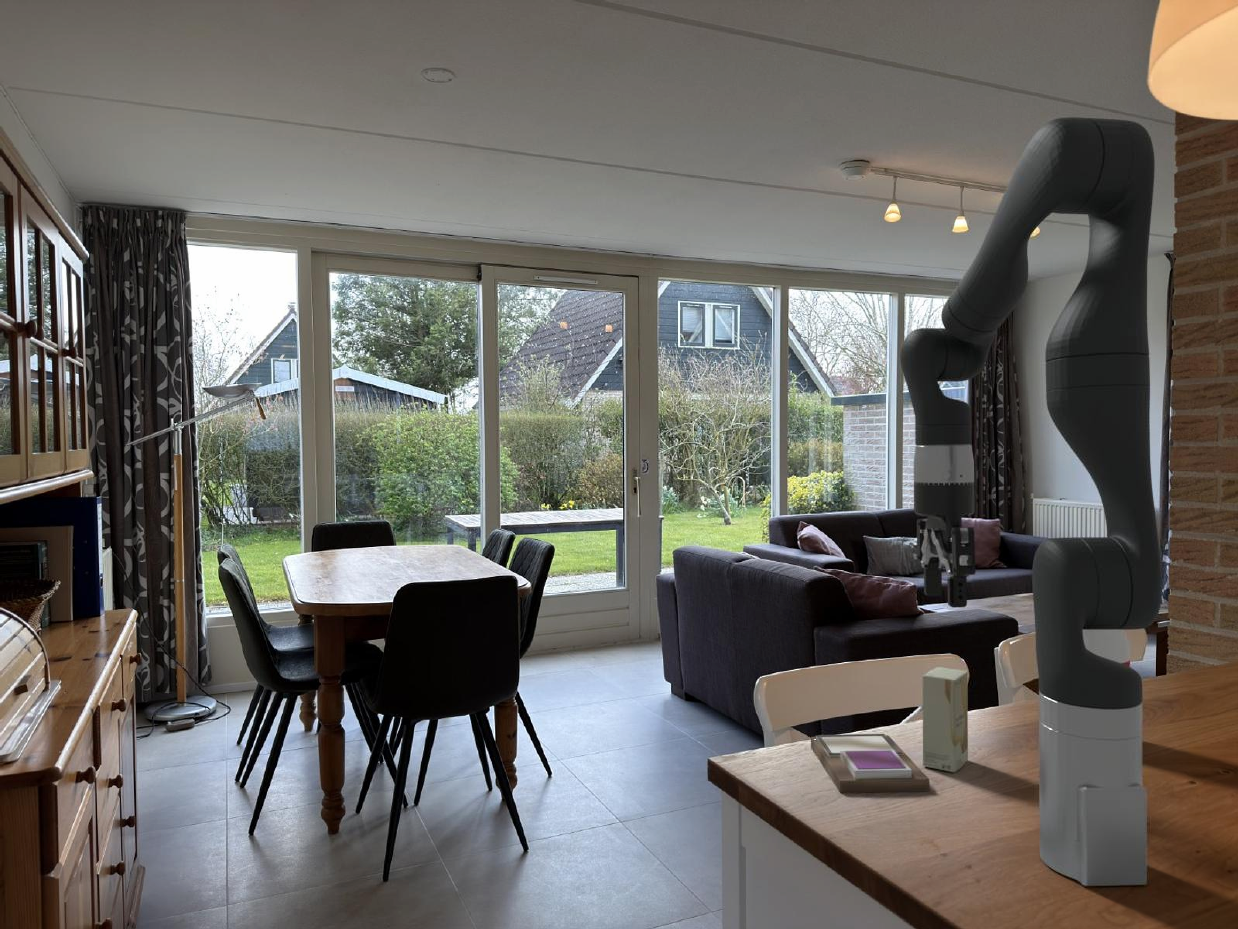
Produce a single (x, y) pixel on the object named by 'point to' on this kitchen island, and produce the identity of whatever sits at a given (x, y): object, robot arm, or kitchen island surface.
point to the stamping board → (868, 764)
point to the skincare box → (945, 719)
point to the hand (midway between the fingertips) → (944, 601)
